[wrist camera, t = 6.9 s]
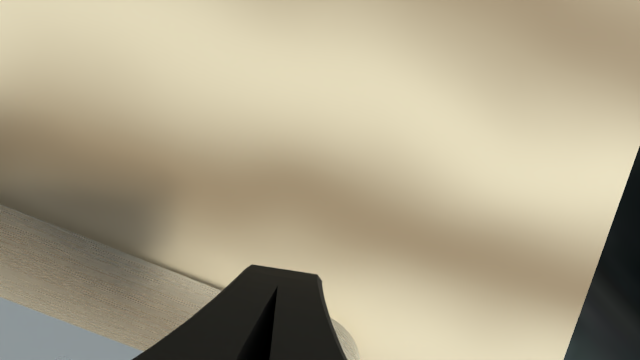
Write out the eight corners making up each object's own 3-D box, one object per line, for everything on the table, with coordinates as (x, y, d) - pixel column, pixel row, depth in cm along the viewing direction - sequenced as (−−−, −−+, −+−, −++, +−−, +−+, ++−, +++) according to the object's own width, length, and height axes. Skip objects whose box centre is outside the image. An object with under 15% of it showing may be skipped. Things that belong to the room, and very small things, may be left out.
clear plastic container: (379, 336, 15) (383, 449, 11) (332, 421, 16) (323, 547, 12) (-86, 152, 14) (-237, 213, 10) (-100, 257, 15) (-241, 344, 11)
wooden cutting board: (485, 484, 19) (511, 588, 16) (-71, 394, 20) (-157, 478, 16) (703, -180, 12) (828, -237, 9) (-181, -295, 12) (-374, -391, 9)
